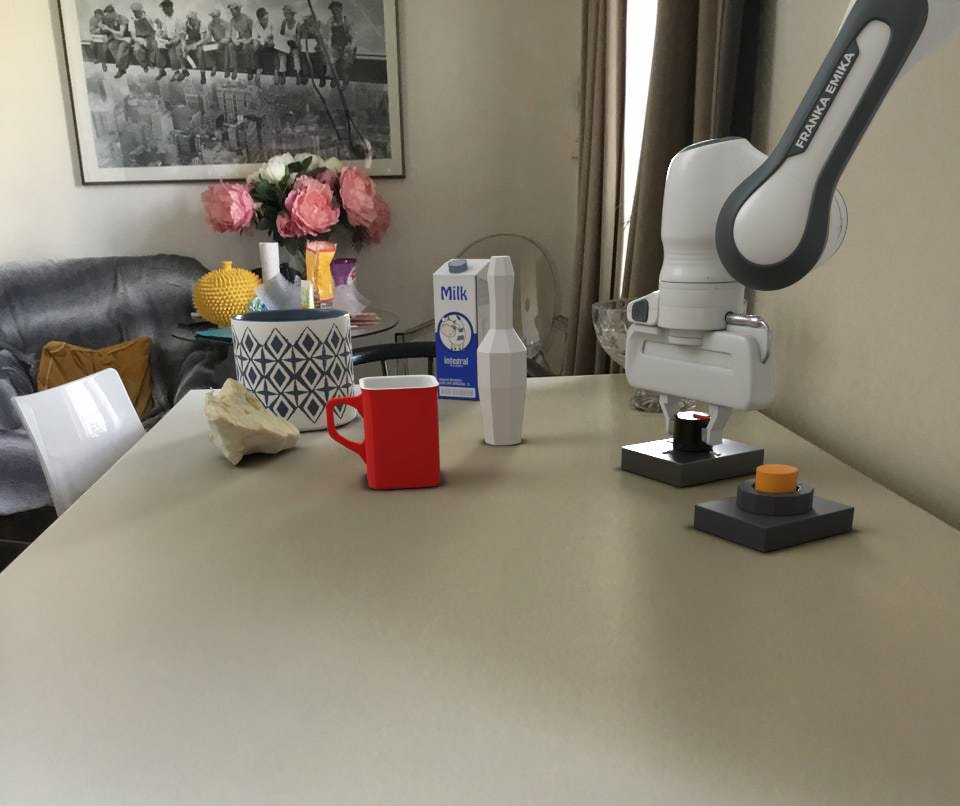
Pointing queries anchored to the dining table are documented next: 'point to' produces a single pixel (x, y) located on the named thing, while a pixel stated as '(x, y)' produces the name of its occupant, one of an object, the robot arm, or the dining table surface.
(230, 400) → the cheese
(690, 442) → the temp dial
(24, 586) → the dining table surface
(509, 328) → the low poly bottle
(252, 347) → the planter
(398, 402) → the mug
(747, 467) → the dial panel
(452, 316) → the milk carton
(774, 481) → the button
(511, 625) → the dining table surface
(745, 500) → the button base
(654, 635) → the dining table surface
